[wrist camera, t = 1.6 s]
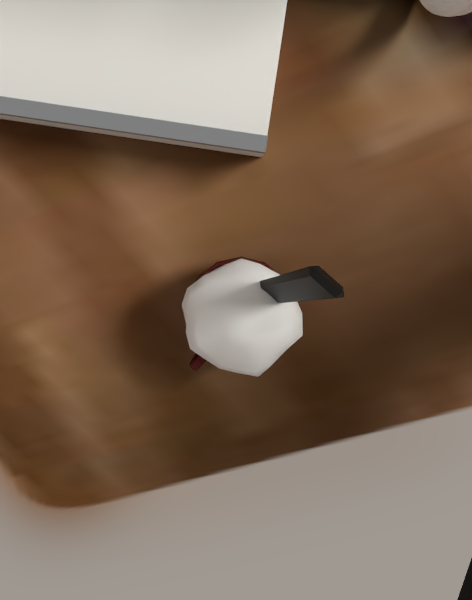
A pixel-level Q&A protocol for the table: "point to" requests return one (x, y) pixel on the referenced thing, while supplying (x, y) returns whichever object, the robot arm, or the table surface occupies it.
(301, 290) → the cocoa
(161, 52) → the cleat board
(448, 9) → the cat figurine
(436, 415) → the table surface
